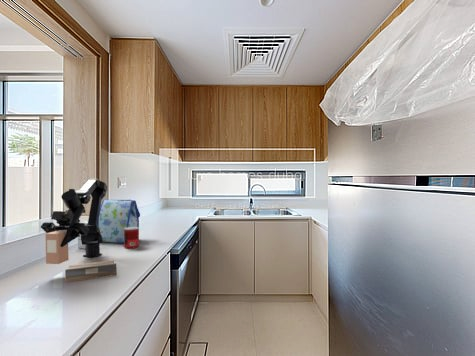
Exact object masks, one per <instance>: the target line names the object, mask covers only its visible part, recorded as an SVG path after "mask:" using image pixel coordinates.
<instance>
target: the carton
mask: <svg viewBox="0 0 475 356" xmlns="http://www.w3.org/2000/svg"><path fill="white" fill-rule="evenodd" d="M66 234H67V231H54V232H50V233H46V232H45V263H46V264H48V265H60V264H62V263H64V262H68V261H69V243H68V244H66V245H65V246H63V247H61V246H60V245H61V243H62V241H63V239H64V237H65V235H66Z"/></svg>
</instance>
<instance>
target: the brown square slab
mask: <svg viewBox="0 0 475 356" xmlns="http://www.w3.org/2000/svg"><path fill="white" fill-rule="evenodd" d="M64 275H65V280H64V281H65V283H70V282H76V281H77V282H78V281H83V280H89V279H98V278H104V277H113V276H117V262H116V263H115V260H113V259H112V260H105V261H98V262H95V261H94V262H88V263H81V264H80V263H79V264H73V265H69V266H68V268H67V269H65V274H64Z"/></svg>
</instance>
